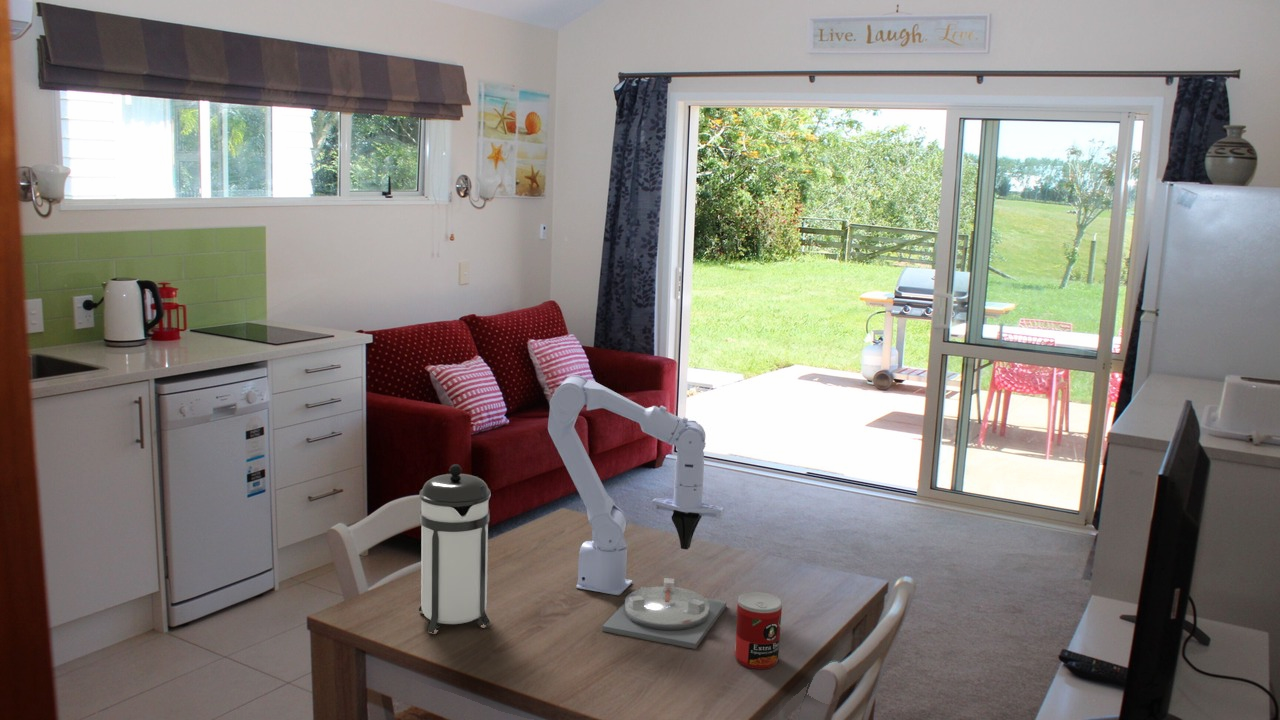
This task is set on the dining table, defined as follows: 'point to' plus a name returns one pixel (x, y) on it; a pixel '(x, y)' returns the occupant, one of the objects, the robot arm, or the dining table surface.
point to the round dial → (666, 607)
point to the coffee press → (454, 549)
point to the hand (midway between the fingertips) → (685, 547)
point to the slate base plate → (675, 637)
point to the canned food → (758, 630)
